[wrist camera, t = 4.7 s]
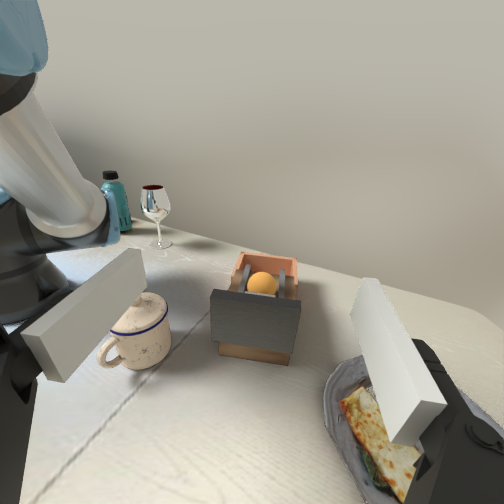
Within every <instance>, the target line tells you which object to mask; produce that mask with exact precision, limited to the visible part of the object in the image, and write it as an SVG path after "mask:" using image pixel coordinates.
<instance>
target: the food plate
mask: <svg viewBox="0 0 504 504" xmlns="http://www.w3.org/2000/svg"><path fill="white" fill-rule="evenodd" d="M371 386H372V383H371V379H370V376H369V373H368V370H367V367H366V363H365V360H364V357H363V355H361V356H358V357H355V358H353V359H350V360H346V361H343V362H341V363H340V364H339V365H338V366H337V368H336V369H335V370H334V372H333V373H332V374H330V377H329V379H328V380H327V383H326V385H325V389H324V393H323V402H324V403H323V406H324V407H323V409H324V418H325V421H324V422H325V424H326V425H325V427H326V429H327V430H329V434H330V437H331V438H332V440H333V442H334V444H335V445H336V448H337V450H338V451H339V453H340V455H341V458H342V460H343V461H344V464H345V465H346V467H347V469H348V471H349V473H350V475H351V477H352V478H353V480H354V482H355V484H356V486H357V488H358V490H359V492H360V493H361V496H362V497H363V499H364V501H365V503H366V504H403V503H404V500H405V497H406V495H407V492H408V489H409V487H410V484H411V481H412V479H413V476H414V473H415V471H416V468H415V467H414V466H413V464H414V463H415V462H416V460H417V459H418V458H419V457H420V456H421V455H422V454H423V453H424V449H423V447H422V444H421V442H420V439H419V440H418V441H417V442H416V443H415V445H414V446H413V447H409V446H404V445H399V444H393V443H390V440H389V437H388V434H387V431H386V428H385V424H384V421H383V418H382V415H381V412H380V408H379V405H378V403H377V402H376V401H375V400H374V398H373V397H372V396H371V394H370V393H369V392H367V391H366V390H365V389H366V388H367V387H371ZM456 388H457V387H456ZM457 389H458V391H459V392H460V394H461V396H462V397H463V399H464V400H465V402H466V404H467V405H468V407H469V408H470V410H471V412H472V413H473V414H474V415H475V416H476V417H478V418H480V419H482V420H484V421H485V422H487V423H488V424H489V425H490V426H492V427H493V428H494V429H495V430H496V431H497V432H498V433H499V434H500V435H501V436H502V438H503V439H504V429H502V428H501V427H500V426H499V424H497V423H496V422H495V421H494V420H493V419H492V418H491V417H490V416H489V415H488V414H486V413H485V412H484V411H483V410H482V409H481V408H480V407H479V406H478V405H477V404H476V403H474V402H472V400H471V399H470V398H468V396H467V395H465V394H464V393H463V392H462V391H461V390H459V388H457ZM368 391H369V389H368ZM375 397H376V396H375Z"/></svg>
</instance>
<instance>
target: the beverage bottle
mask: <svg viewBox="0 0 504 504" xmlns="http://www.w3.org/2000/svg"><path fill="white" fill-rule="evenodd" d="M103 179H106V180H113V179H118V174H117V172H116V171H104V172H103ZM102 188H104V189H110V190H112V191H113V193H114V196H115V201H116V206H117V213H118V220H119V229H120V231H125V230H128V229H130V228H131V227H132V222H131V221H132V220H131V217H130V213H129V208H128V203H127V202H128V201H127V196H126V194H125V189H124V185H123V184H122V183H120V182H118V181H109V182H105V183H104V184H103V186H102Z"/></svg>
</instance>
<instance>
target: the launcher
mask: <svg viewBox="0 0 504 504" xmlns="http://www.w3.org/2000/svg"><path fill="white" fill-rule="evenodd" d="M255 273H257V272H256V271H251V265H249V264H246V266H245V269H244V270H240V269H236V271H235V274H234V277H233V279H232V282H231V285H230V288H229V290H228V291H233V292H241V293H245V291H247V292H248V289H247V284H248V281H249V279H250V277H251V276H252V275H253V274H255ZM269 274H270V275H272V276H273V278H274V279H275V281H276V286H277V287H276V292H275V294H274V295H275V297H277V298H284V299H291V300H295V285H294V276H287V275H285V269H281V268H280V275H279V274H271V273H269ZM219 355H223V356H229V357H235V358H242V359H248V360H254V361H260V362H266V363H272V364H278V365H284V366H288V362H289V357H290V353H286V352H280V351H273V350H267V349H261V348H255V347H248V346H242V345H236V344H230V343H223V342H219Z"/></svg>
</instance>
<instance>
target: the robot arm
mask: <svg viewBox="0 0 504 504" xmlns="http://www.w3.org/2000/svg"><path fill="white" fill-rule="evenodd" d="M47 60H48V44H47V37H46V32H45V28H44V24H43V20H42V17H41V13H40V9H39V6H38V2H37V0H0V504H19V501H20V494H21V488H22V481H23V475H24V469H25V462H26V456H27V449H28V443H29V437H30V430H31V424H32V417H33V411H34V405H35V398H36V392H37V386H38V383H37V379H36V377H37V376H38V375H39V374H40V373H41V372H42V371H43V373H44V374H45V376H46V378H47V379H48V380H51V381H57V382H62V383H65V382H66V381H67V380H68V378H69V377H70V376H71V375H72V374H73V373H74V371H75V370H76V369H77V368H78V367H79V366H80V364H81V363H82V362H83V361H84V360H85V359H86V357H87V356H88V355H89V354H90V353H91V352H92V350H93V349H94V348H95V347H96V346H97V345H98V344H99V342H100V341H101V340H102V339H103V338H104V337H105V335H106V334H107V333H108V332H109V331H110V330H111V328H112V327H113V326H114V325H115V324H116V323H117V321H118V320H119V319H120V318H121V317H122V316H123V314H124V313H125V312H126V311H127V310H128V309H129V308H130V306H131V305H132V304H133V303H134V302H135V301H136V299H137V298H138V297H139V296H140V295H141V294H142V292H143V291H144V290H145V289H146V288H147V287H148V285H147V280H146V275H145V270H144V265H143V260H142V254H141V250H140V249H132V248H128V249H127V250H125V251H124V252H123V253H122V254H120V255H119V256H118V257H117V258H115V259H114V260H113V261H111V262H110V263H109V264H108V265H106V266H105V267H104V268H103V269H101V270H100V271H99V272H97V273H96V274H95V275H94V276H92V277H91V278H90V279H89V280H87V281H86V282H85V283H83V284H82V285H81V286H80V287H78V288H77V289H76V290H75V291H74V290H71V291H69V288H70V286H69V283H68V281H67V278H66V277H65V275H64V274H63V273H62V272H61V271H60V270H59V269H58V268H57V267H56V266H55V265H54V264H53V263H52V262H51V261H50V260H49V259H48V258H47V256H46V253H52V252H60V251H68V250H76V249H84V248H92V247H100V246H101V247H105V246H107V245H112V244H116V243H118V242H119V240H120V229H119V220H118V213H117V206H116V201H115V196H114V193H113V191H112V190H110V189H104V188H100V189H99V188H98V187H96V186H95V185H94V184H93V183H91V182H90V181H88V180H86V179H84V178H83V177H82V176H81V174H80V172H79V171H78V169H77V167H76V165H75V164H74V162H73V160H72V159H71V157H70V155H69V153H68V152H67V150H66V148H65V147H64V145H63V143H62V142H61V140H60V138H59V137H58V135H57V133H56V131H55V130H54V128H53V126H52V125H51V123H50V121H49V119H48V118H47V116H46V114H45V113H44V111H43V109H42V108H41V106H40V104H39V102H38V101H37V99H36V97H35V96H34V94H33V91H34V89H35V87H36V83H37V79H38V76H37V74H38V72H39V71H41V70H42V69H43V68H44V67H45V65H46V63H47ZM350 315H351V319H352V322H353V325H354V328H355V331H356V335H357V338H358V341H359V344H360V347H361V351H362V354H363V357H364V360H365V363H366V367H367V370H368V373H369V376H370V379H371V383H372V386H373V389H374V392H375V396H376V399H377V402H378V405H379V408H380V412H381V415H382V418H383V421H384V424H385V428H386V431H387V434H388V437H389V440H390V443H393V444H399V445H404V446H409V447H413V446H414V445H415V443H416V442H417V441H418V440H419V439H420V442H421V444H422V447H423V449H424V453H423V454H422V455H421V456H420V457H419V458H418V459H417V460H416V462H415V463H414V464H413V466H414V467H415V468H416V471H415V473H414V476H413V479H412V481H411V484H410V487H409V489H408V492H407V495H406V497H405V500H404V503H403V504H504V439H503V438H502V436H501V435H500V434H499V433H498V432H497V431H496V430H495V429H494V428H493V427H492V426H490V425H489V424H488V423H487V422H485V421H484V420H482V419H480V418H478V417H476V416H475V415H474V414H473V413H472V412H471V410H470V408H469V407H468V405H467V404H466V402H465V400H464V399H463V397H462V396H461V394H460V392H459V391H458V389H457V388H456V386H455V384H454V383H453V381H452V380H451V378H450V376H449V375H448V374H447V372H446V370H445V368H444V367H443V365H441V362H440V360H439V359H438V357H437V356H436V354H435V352H434V351H433V350H432V349H431V348H430V347H429V346H428V345H427V344H426V343H425V342H424V341H423V340H418V339H412V338H410V336H409V334H408V332H407V331H406V329H405V327H404V325H403V323H402V322H401V320H400V318H399V316H398V314H397V313H396V311H395V309H394V307H393V305H392V304H391V302H390V300H389V298H388V297H387V295H386V293H385V291H384V289H383V288H382V286H381V284H380V282H379V280H378V279H374V278H367V277H363V279H362V282H361V285H360V288H359V290H358V293H357V296H356V299H355V302H354V305H353V308H352V311H351V313H350ZM28 318H30V319H28ZM25 319H28V320H27V321H26V322H25V323H23V324H22V325H21V326H19V327H18V328H17V329H15V330H14V331H13V332H11V333H10V334H9V335H8V333H7V331H6V330H5V328H4V327H3V325H2V324H8V323H13V322H18V321H22V320H25Z"/></svg>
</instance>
